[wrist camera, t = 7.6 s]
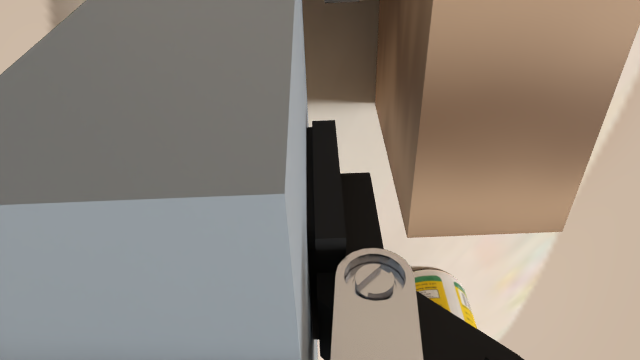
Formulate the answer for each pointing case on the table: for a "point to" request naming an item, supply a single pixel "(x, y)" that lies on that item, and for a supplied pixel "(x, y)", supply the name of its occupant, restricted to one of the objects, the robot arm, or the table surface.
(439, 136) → the brown tall rectangular block
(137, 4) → the pale blue tall prism
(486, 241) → the table surface
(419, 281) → the supplement bottle
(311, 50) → the table surface
